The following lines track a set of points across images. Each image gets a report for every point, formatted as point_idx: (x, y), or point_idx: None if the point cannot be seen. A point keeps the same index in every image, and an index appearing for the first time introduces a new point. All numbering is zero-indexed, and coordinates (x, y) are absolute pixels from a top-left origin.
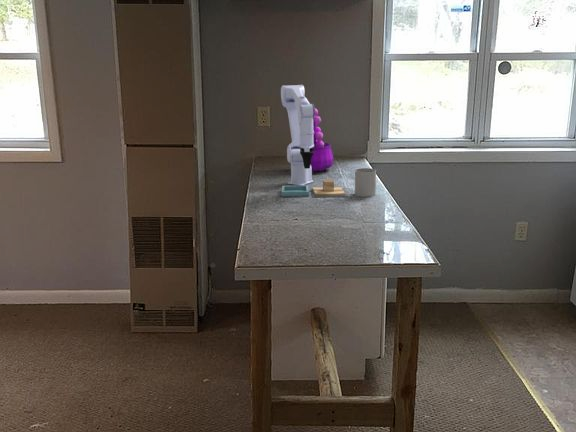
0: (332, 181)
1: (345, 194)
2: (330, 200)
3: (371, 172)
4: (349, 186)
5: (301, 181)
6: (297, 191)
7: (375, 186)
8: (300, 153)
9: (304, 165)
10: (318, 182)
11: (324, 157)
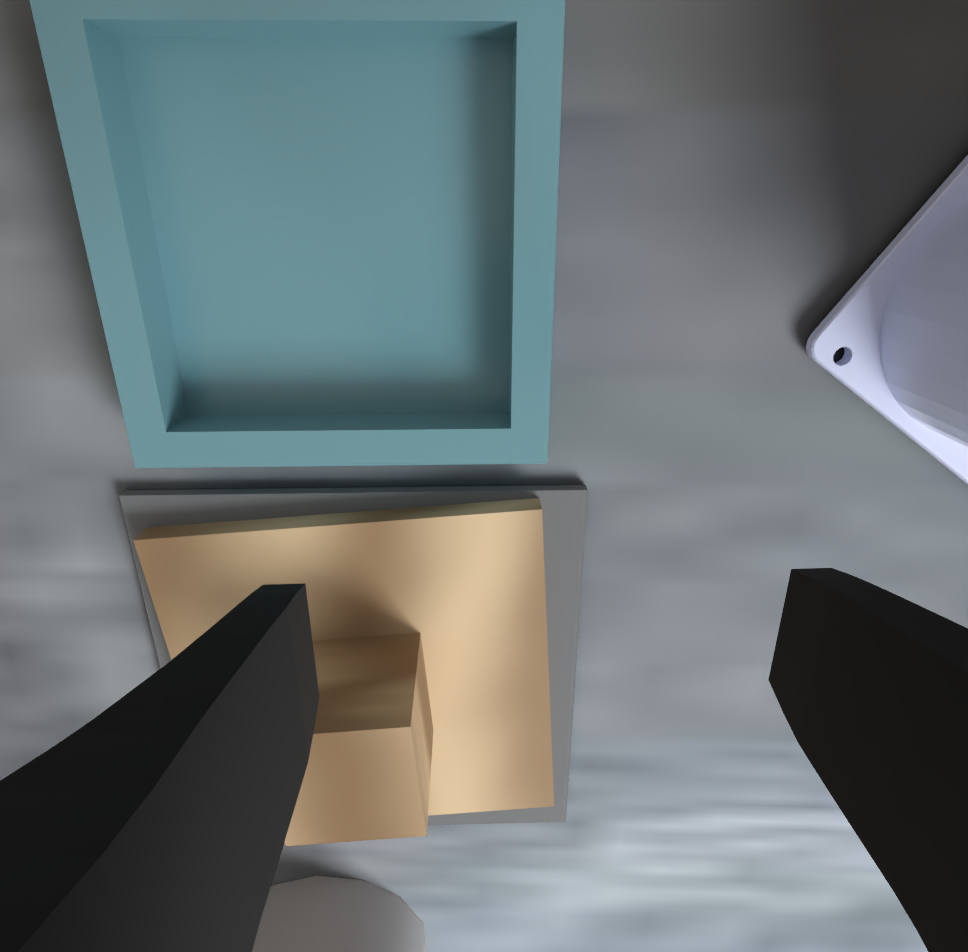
0: (295, 832)
1: None
2: (17, 674)
3: None
4: (666, 849)
5: (905, 354)
6: (122, 289)
7: None
8: None
9: (211, 637)
10: (962, 568)
11: None
